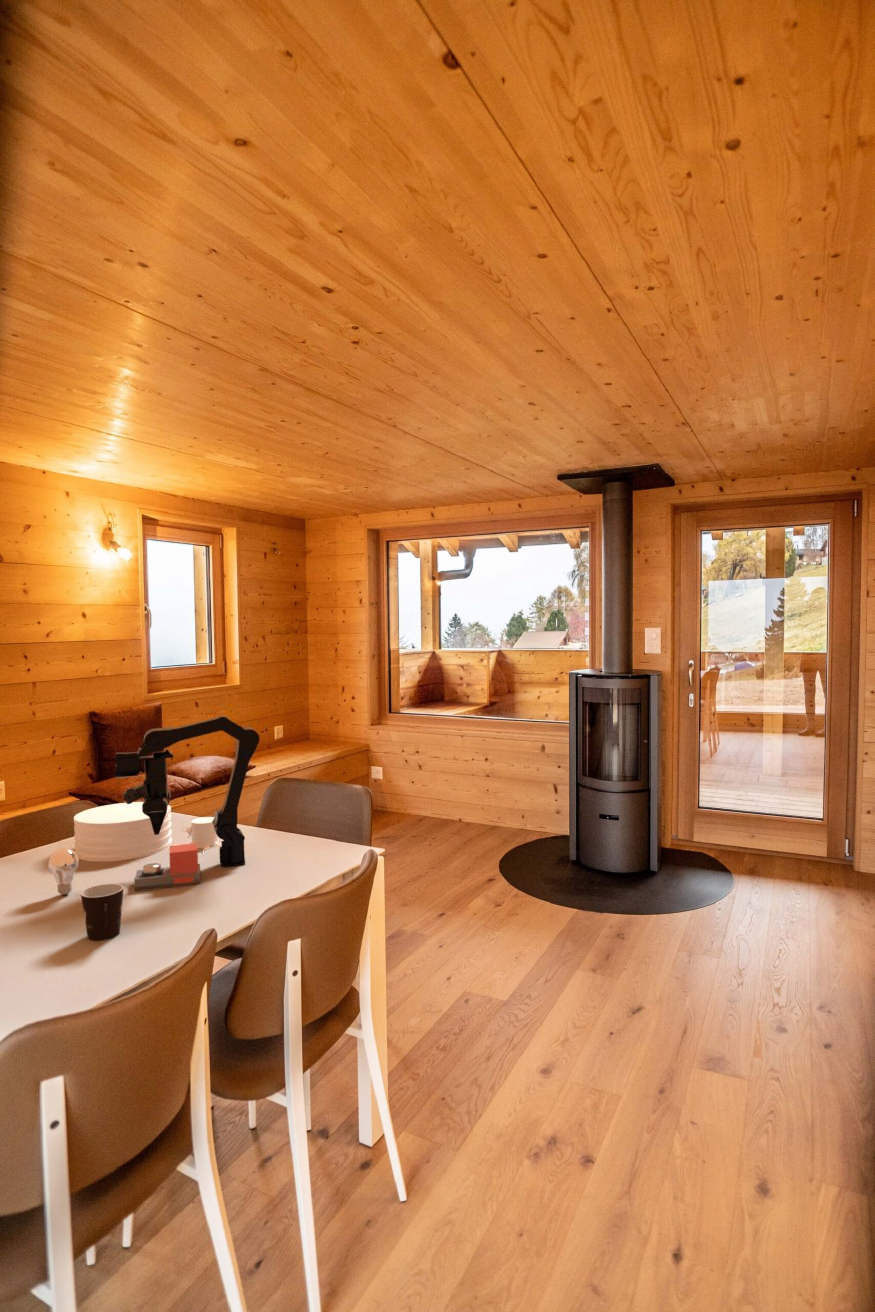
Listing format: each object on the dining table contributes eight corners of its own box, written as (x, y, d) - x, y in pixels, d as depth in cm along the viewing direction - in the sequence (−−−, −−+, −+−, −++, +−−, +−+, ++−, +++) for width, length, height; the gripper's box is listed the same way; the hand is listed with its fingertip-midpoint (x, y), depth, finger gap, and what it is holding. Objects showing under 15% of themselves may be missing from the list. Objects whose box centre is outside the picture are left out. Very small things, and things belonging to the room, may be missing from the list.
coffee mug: (91, 928, 166) (89, 884, 165) (130, 926, 166) (129, 882, 166) (69, 950, 154) (68, 903, 154) (112, 948, 155) (110, 901, 154)
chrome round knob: (161, 870, 197) (161, 862, 197) (160, 875, 193) (160, 867, 193) (144, 872, 196) (143, 864, 196) (142, 877, 192) (142, 869, 192)
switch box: (200, 874, 202) (199, 863, 202) (199, 884, 194) (199, 873, 194) (137, 881, 197) (137, 870, 197) (134, 891, 189) (134, 880, 189)
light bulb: (67, 900, 184) (65, 853, 183) (43, 899, 185) (41, 852, 185) (86, 891, 191) (84, 845, 190) (62, 889, 192) (61, 844, 192)
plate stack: (139, 831, 250) (138, 798, 249) (190, 844, 233) (189, 808, 233) (57, 852, 227) (56, 815, 227) (106, 867, 210) (105, 828, 210)
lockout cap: (197, 864, 201) (197, 843, 201) (198, 872, 194) (197, 850, 194) (170, 867, 199) (170, 846, 199) (170, 875, 192) (169, 853, 192)
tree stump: (168, 843, 236) (167, 818, 235) (229, 834, 245) (228, 810, 244) (178, 859, 218) (177, 832, 218) (243, 849, 227) (242, 823, 227)
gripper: (128, 771, 210) (130, 825, 210) (120, 783, 192) (122, 842, 192) (169, 768, 213) (171, 821, 213) (165, 779, 195) (167, 838, 195)
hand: (157, 830), depth 203 cm, fingers open, 9 cm apart
